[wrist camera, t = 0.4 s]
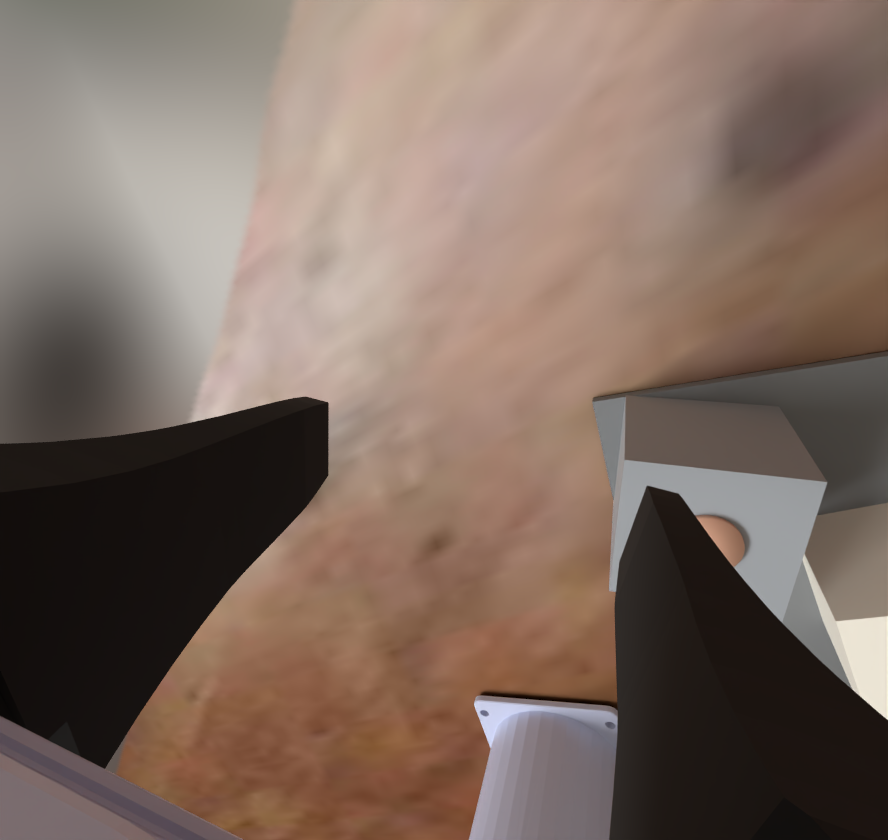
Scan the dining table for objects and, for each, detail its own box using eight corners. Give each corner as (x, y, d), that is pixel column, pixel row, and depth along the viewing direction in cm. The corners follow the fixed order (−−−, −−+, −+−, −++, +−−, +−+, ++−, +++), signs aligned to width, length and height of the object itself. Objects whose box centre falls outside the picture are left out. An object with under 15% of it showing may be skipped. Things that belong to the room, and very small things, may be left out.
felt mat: (1201, 727, 18) (1213, 739, 17) (655, 691, 25) (655, 698, 25) (1335, 280, 12) (1355, 282, 12) (593, 398, 20) (592, 402, 19)
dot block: (748, 524, 20) (783, 627, 15) (613, 506, 21) (608, 594, 17) (778, 406, 17) (829, 486, 13) (625, 395, 19) (624, 463, 14)
